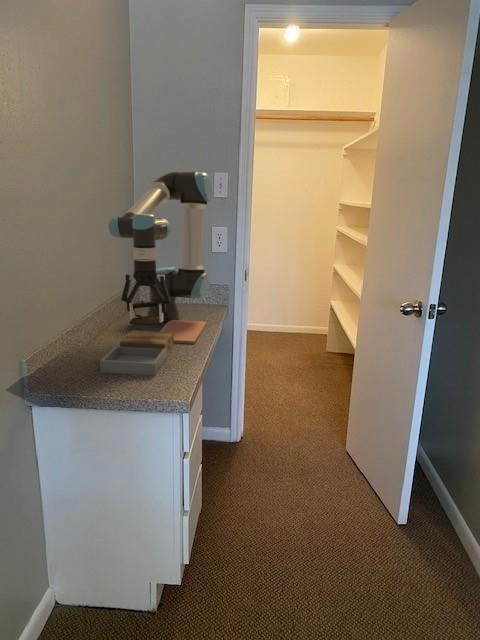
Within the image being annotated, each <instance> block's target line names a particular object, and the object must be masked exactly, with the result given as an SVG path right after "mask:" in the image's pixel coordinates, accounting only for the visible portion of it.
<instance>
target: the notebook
mask: <svg viewBox="0 0 480 640" xmlns="http://www.w3.org/2000/svg"><path fill="white" fill-rule="evenodd" d="M207 323H208V322H207V321H201V320H200V321H196V320H179V319H178V320H171V321H169V322H166V324H165V325H164V326H163V327H162V328H161V329H160V331H159V332H173V338H174V344H188V345H195V343H196V342H197V340H198V339H199V337H200V335H201V334H202V332H203V331H204V329H205V327H206V326H207Z"/></svg>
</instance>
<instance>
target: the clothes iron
mask: <svg viewBox="0 0 480 640" xmlns="http://www.w3.org/2000/svg"><path fill="white" fill-rule="evenodd" d="M132 306H133V310H134V316H135V317H134V318H133V319H131V320H130V319H129V324H130V325H136V326H137V325H139V326H140V325H141V326H153V325H162V323H163V322H160V320H159V318H158V315H159V310H158V313H157V314H156V315H151V316H147V315H144V316H142V315H141V314H137V313H136V311H135V309H142V308H149V307H153V306H156V307H157V301H154V302H150V301H148V302H139V303H135V302H134V303H133V304H132ZM157 309H158V307H157Z"/></svg>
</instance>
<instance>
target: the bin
mask: <svg viewBox="0 0 480 640" xmlns="http://www.w3.org/2000/svg"><path fill="white" fill-rule="evenodd" d="M167 360H168V354H167V349H165V348H163V349H153V348H133V347H120V345H115V346H114V347H113V348H112V349H111V350H110V351H109V352H107V354H106V355H104V356H103V357H102V358H101V359H100V361H99V367H100V373H102V374H103V373H104V374H105V373H106V374H118V375H119V374H120V375H121V374H122V375H139V376H141V375H142V376H157V374H158V373H159V371H160V369H161V368H162V367H163V365H164V364H165V363H166V361H167Z"/></svg>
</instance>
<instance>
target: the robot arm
mask: <svg viewBox="0 0 480 640" xmlns="http://www.w3.org/2000/svg"><path fill="white" fill-rule="evenodd" d="M212 198H213V184H212V181H211V178H210V176H209V175H208V174H207V173H206V172H200V171H199V172H198V171H173V172H169V173H165V174H163V175H162V176H160V177H158V178H156V179H155V180H154V181H152V183H151V184H150V185H149V186H148V190H147V191H146V192H145V193H144V194H143V195H142V196H141V197H140V198H139V199H138V200H137V201H136V202H135V203H134V204H133V205H132V206H131V207H130V208H129V209H128V210H127V211H126V212H125V213H124V214H122V216H113V217H111V218H110V220H109V221H108V231H109V234H110V236H111V237H113V238H120V239H133V243H132V244H133V259H134V261H133V270H134V272H133V273H126V274H125V276H124V277H125V284H124V288H123V291H122V295H121V301H122V302H125V303H126V311H127V312H129V321H130V320H131V319H133V318H135V313H134V311H135V309H134V310H133V306H132V304H133V303H134V304H135V302H134V301H133V300H134V297H135V296H136V294H137V292H138V291H139V288H140V287H144V286H145V287H149V302H154V301H157V307H158V309H157V307H156V306H153V307H147V308H148V309H147V311H146V316H151V315H156V314H157V313H158V310H159V315H158V318H159V320H160V322H161V323H168V322H169V321H170V322H171V320H179V319H181V312H180V310H179V308H178V307H179V306H178V304H177V298H181V299H182V298H183V299H191V300H194V299H195V300H200V299H203V298H204V297H205V295H206V294H207V291H208V289H209V284H210V277H209V274H208V273H206V272H205V270H206V269H205V267H204V266H203V265H202V260H203V259H202V258H203V236H204V235H203V232H204V231H203V230H204V210H205V208H206V207H207V206H208V202H211V200H212ZM172 200H174V201H179V204H180V206H182V209H183V213H182V214H183V215H182V216H183V217H182V218H183V219H182V246H181V247H182V249H181V250H182V251H181V253H182V257H181V265H180V266H178V267H177V268H178V270H176V267H174V266H168V267H167V266H165V267H158V268H157V260H156V258H157V256H156V254H157V253H156V252H157V251H156V241H160V240H161V241H162V240H165V239H167V238H168V237H169V236H170V235H171V233H172V232H171V231H172V226H171V224H170V222H169V220H167V219H166V218H160V217H159V218H157V217H156V218H155V215H154V213H155V212H156V211H157V210H158V209H159V208H160V207H161V206H162V205H163V204H164V205H165V204H166V203H167V202H169V201H172ZM133 279H134V280H135V281H136V282H135V283H134V286H133V288H132V290H131V292H130V293H129V291H130V286H131V283H132V280H133Z"/></svg>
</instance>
